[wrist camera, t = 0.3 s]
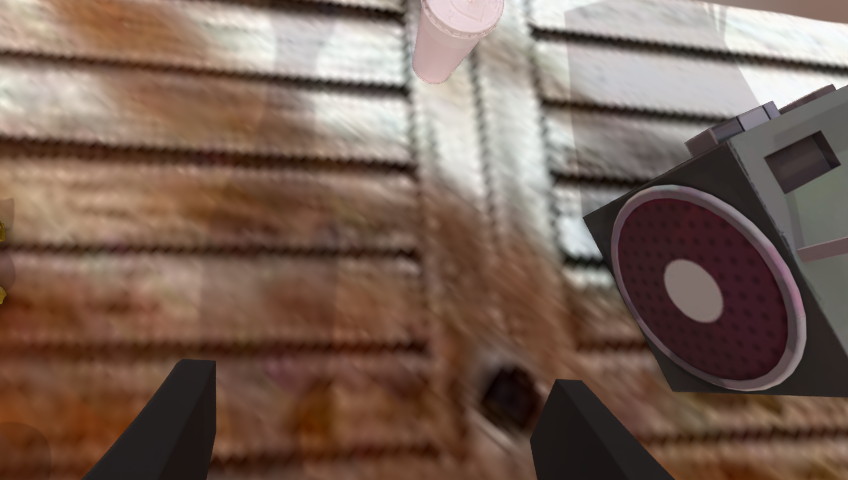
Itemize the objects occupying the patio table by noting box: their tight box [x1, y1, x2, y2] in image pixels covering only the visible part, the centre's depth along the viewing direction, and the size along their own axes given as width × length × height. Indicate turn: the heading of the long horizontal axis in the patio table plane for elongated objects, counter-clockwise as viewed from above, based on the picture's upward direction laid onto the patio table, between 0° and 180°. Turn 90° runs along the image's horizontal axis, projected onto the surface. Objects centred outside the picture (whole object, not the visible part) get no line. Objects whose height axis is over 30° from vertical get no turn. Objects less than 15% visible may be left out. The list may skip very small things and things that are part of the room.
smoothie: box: [412, 0, 504, 84], centre depth 43 cm, size 6×6×14 cm
